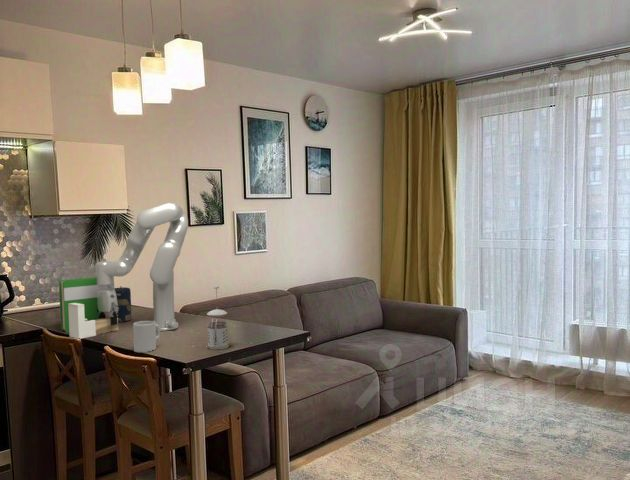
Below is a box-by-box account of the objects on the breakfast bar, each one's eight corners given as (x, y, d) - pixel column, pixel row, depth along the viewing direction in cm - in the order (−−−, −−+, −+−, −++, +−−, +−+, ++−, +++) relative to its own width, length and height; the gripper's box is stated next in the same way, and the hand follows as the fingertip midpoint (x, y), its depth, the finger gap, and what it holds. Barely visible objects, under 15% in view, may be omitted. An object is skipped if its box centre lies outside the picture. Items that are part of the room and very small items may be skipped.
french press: (232, 343, 224) (230, 283, 223) (226, 351, 212) (225, 287, 211) (208, 344, 224) (207, 284, 223) (201, 351, 213) (200, 287, 211)
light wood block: (118, 330, 256) (117, 315, 256) (86, 336, 244) (85, 320, 243) (113, 329, 259) (113, 314, 258) (81, 335, 246) (81, 319, 246)
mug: (144, 353, 211) (143, 325, 210) (129, 351, 215) (128, 323, 214) (167, 346, 221) (166, 320, 221) (152, 344, 225) (151, 318, 225)
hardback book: (65, 332, 253) (63, 281, 252) (60, 330, 258) (58, 280, 257) (103, 327, 264) (102, 278, 263) (98, 325, 270) (96, 277, 269)
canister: (134, 319, 283) (133, 285, 283) (126, 322, 274) (125, 287, 273) (117, 319, 284) (116, 285, 284) (108, 322, 275) (107, 287, 274)
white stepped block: (95, 335, 245) (94, 302, 244) (79, 339, 239) (77, 305, 238) (86, 333, 250) (85, 301, 249) (69, 336, 244) (68, 303, 243)
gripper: (123, 287, 251) (126, 324, 252) (102, 285, 261) (105, 321, 262) (109, 289, 245) (111, 327, 246) (88, 288, 255) (90, 323, 256)
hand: (108, 323), depth 254 cm, fingers open, 9 cm apart
